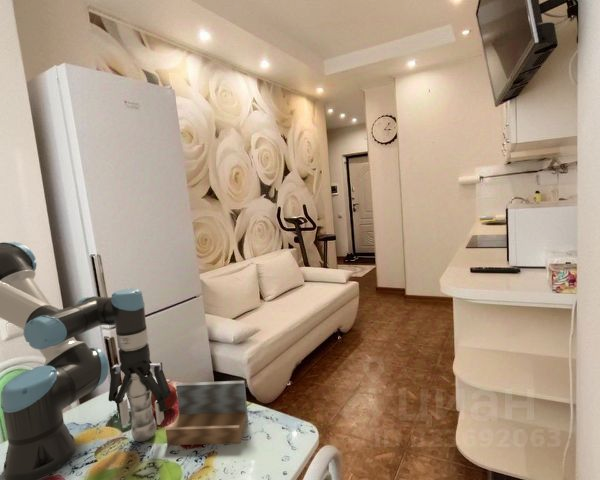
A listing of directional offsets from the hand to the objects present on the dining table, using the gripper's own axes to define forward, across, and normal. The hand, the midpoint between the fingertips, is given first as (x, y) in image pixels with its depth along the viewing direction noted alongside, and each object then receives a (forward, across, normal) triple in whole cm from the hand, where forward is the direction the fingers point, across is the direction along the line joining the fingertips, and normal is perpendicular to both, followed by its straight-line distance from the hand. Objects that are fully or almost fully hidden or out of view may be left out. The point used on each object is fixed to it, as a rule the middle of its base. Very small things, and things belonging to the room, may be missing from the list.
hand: (143, 422), depth 98 cm
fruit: (+5, 0, +13) cm, 14 cm away
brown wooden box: (+5, +18, +2) cm, 19 cm away
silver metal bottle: (+5, 0, 0) cm, 5 cm away
